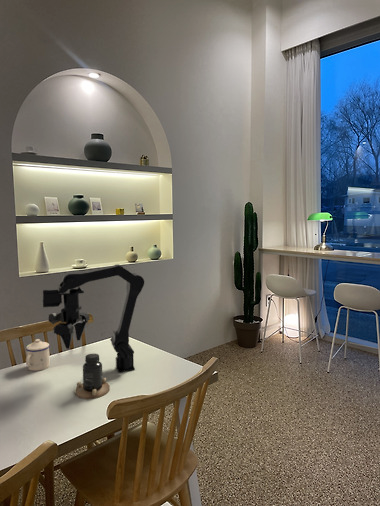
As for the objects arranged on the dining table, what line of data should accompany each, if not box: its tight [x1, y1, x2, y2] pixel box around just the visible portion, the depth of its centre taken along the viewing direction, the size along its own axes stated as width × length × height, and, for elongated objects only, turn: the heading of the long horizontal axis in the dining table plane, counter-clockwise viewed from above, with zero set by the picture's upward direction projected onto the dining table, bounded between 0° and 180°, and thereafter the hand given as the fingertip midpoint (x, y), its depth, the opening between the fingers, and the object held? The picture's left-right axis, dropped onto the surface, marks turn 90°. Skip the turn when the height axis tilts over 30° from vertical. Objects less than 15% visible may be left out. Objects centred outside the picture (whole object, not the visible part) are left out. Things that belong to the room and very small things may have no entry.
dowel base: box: [74, 377, 111, 400], centre depth 141 cm, size 12×12×3 cm
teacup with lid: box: [25, 338, 51, 372], centre depth 161 cm, size 12×9×12 cm
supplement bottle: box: [82, 353, 103, 392], centre depth 141 cm, size 7×7×12 cm
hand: (73, 344), depth 152 cm, fingers open, 9 cm apart
